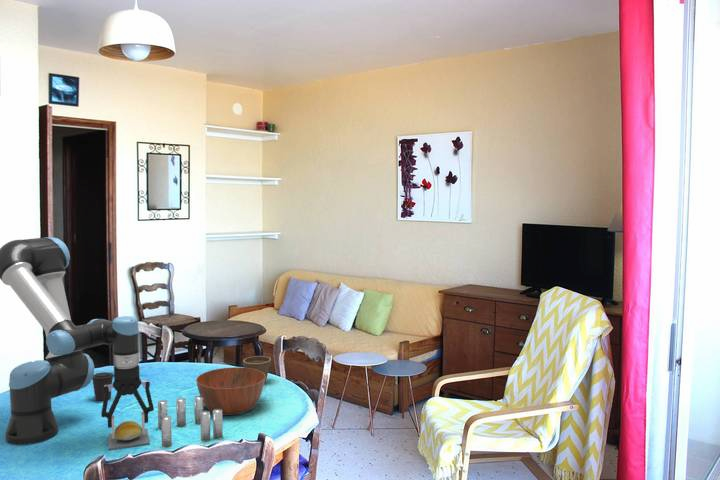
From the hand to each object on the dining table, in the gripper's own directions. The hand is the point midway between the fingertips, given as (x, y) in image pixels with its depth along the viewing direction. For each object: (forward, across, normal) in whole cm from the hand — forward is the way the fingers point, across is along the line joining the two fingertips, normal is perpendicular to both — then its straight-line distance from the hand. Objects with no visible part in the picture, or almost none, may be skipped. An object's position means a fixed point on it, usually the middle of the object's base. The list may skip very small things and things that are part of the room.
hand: (128, 434), depth 196 cm
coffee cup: (+2, -8, +43) cm, 44 cm away
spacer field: (+2, +19, -1) cm, 19 cm away
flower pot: (+2, +51, +41) cm, 65 cm away
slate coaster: (+2, 0, 0) cm, 2 cm away
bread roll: (+1, 0, 0) cm, 1 cm away
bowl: (+2, +36, +17) cm, 40 cm away
